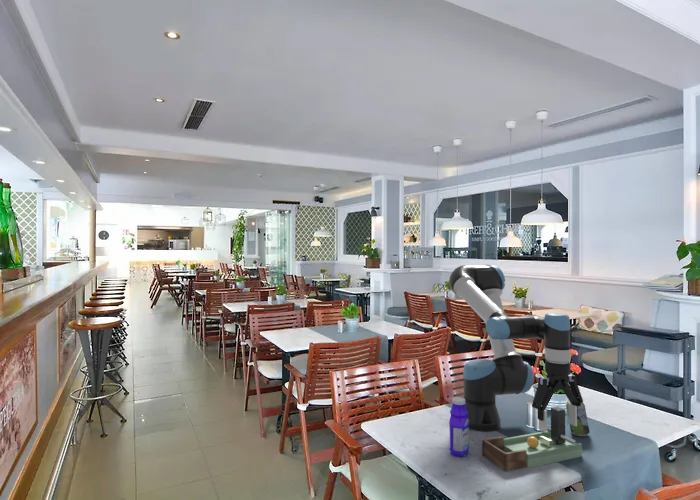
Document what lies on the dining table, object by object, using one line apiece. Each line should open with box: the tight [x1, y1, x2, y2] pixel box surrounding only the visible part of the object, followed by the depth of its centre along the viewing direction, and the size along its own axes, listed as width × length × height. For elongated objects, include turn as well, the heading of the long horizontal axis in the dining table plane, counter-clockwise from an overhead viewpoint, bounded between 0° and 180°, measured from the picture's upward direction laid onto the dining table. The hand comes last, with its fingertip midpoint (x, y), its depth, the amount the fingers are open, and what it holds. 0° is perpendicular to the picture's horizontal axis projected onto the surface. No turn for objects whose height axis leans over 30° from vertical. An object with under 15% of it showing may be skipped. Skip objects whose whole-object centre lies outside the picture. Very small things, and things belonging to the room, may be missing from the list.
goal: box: [481, 435, 527, 472], centre depth 133 cm, size 8×11×5 cm
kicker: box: [540, 406, 577, 447], centre depth 140 cm, size 7×13×11 cm, turn 20°
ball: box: [527, 436, 539, 448], centre depth 137 cm, size 4×4×4 cm
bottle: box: [448, 396, 470, 458], centre depth 139 cm, size 7×6×17 cm
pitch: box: [504, 430, 583, 469], centre depth 138 cm, size 22×12×4 cm, turn 110°
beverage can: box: [565, 399, 590, 437], centre depth 154 cm, size 6×7×12 cm
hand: (558, 427), depth 141 cm, fingers open, 12 cm apart
